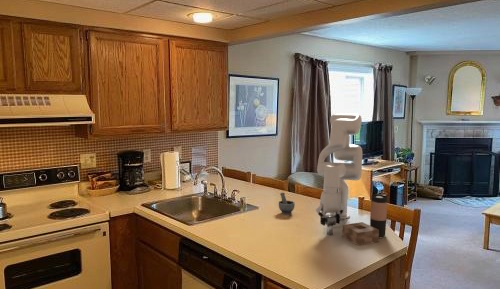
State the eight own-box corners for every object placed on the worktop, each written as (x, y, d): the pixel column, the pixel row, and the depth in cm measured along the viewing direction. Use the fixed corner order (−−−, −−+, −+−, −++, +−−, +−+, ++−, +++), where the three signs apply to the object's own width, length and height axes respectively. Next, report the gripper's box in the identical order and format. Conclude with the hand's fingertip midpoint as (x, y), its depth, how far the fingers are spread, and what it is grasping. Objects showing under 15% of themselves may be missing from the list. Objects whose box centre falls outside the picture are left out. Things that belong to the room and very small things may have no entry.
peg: (321, 232, 184) (321, 215, 183) (331, 231, 186) (331, 214, 185) (327, 236, 178) (328, 218, 177) (338, 235, 180) (338, 217, 180)
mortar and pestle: (297, 215, 214) (298, 195, 212) (284, 217, 209) (284, 196, 208) (287, 210, 224) (287, 191, 222) (274, 211, 219) (274, 192, 218)
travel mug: (366, 233, 184) (368, 195, 182) (378, 231, 186) (380, 193, 184) (376, 238, 177) (378, 198, 174) (388, 236, 179) (391, 197, 177)
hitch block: (342, 236, 179) (342, 224, 178) (362, 233, 183) (362, 222, 183) (357, 245, 168) (358, 232, 167) (378, 241, 172) (379, 229, 172)
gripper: (341, 186, 186) (340, 219, 188) (312, 189, 180) (311, 223, 182) (350, 190, 179) (349, 224, 181) (320, 192, 173) (319, 228, 175)
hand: (330, 223), depth 182 cm, fingers open, 7 cm apart
